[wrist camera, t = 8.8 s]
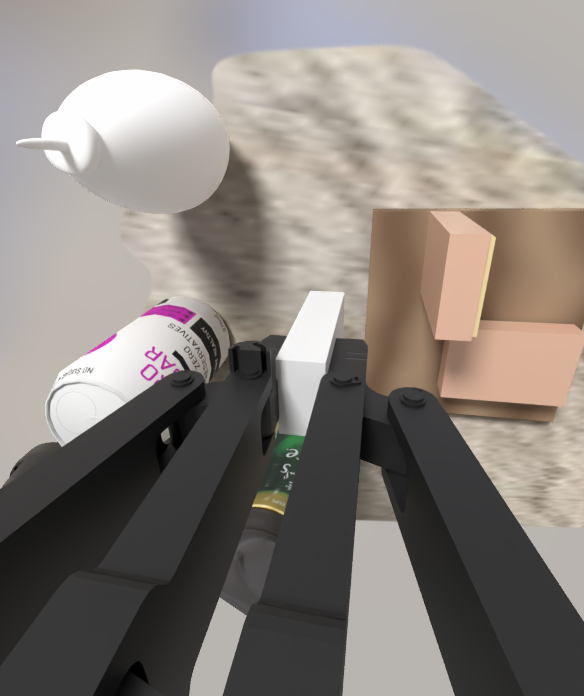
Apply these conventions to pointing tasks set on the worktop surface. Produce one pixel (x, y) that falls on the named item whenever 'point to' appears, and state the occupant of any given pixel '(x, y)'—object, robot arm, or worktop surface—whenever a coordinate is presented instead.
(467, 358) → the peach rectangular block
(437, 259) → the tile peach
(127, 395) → the supplement can
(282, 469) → the coffee jar
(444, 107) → the worktop surface
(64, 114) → the sauce bottle
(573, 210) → the board
